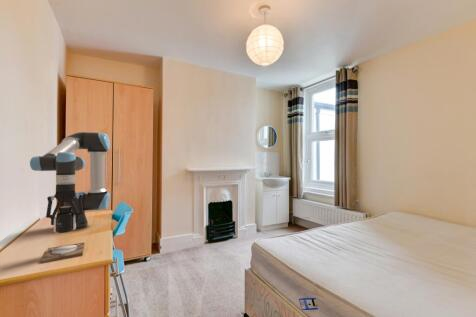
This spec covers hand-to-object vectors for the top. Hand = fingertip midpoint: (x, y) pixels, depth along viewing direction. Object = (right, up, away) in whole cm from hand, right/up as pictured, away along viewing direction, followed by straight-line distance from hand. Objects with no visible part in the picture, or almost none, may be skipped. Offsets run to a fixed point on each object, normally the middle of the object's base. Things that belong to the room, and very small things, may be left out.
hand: (65, 230), depth 109 cm
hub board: (0, -11, 0) cm, 11 cm away
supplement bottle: (0, -1, 0) cm, 1 cm away
